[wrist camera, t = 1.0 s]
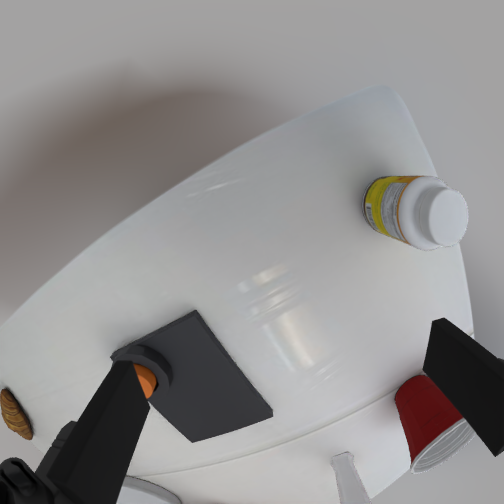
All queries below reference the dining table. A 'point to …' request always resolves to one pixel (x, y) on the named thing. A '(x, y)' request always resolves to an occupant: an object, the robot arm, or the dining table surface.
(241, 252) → the dining table surface
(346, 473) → the perfume bottle
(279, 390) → the dining table surface
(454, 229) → the supplement bottle
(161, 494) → the lid
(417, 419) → the plastic cup
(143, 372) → the button
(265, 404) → the scale
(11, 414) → the croissant
